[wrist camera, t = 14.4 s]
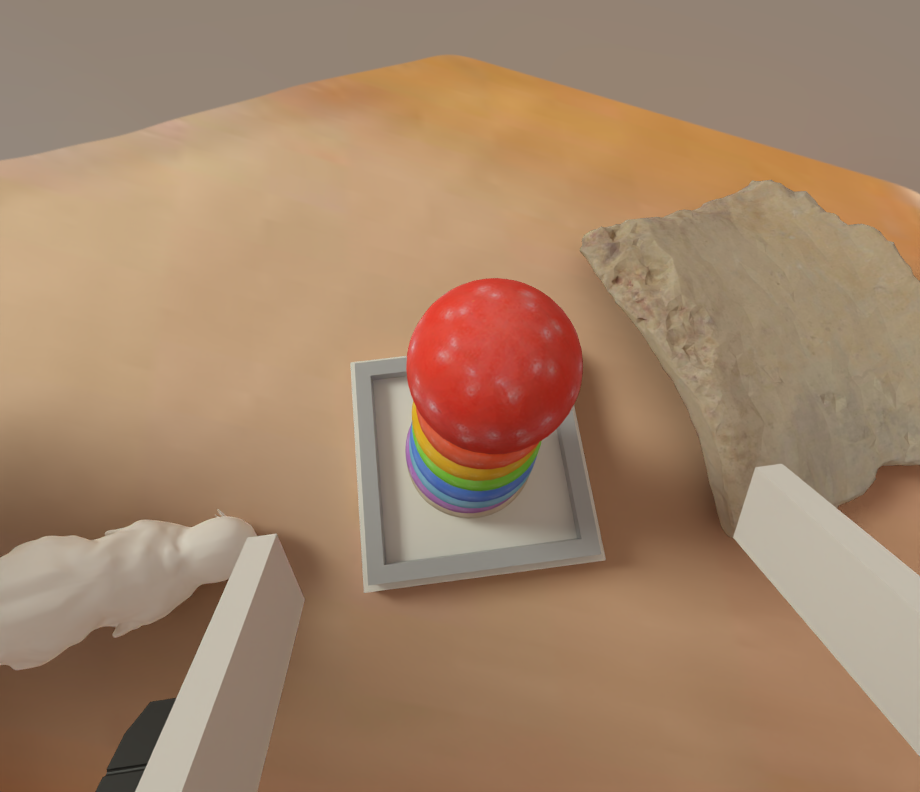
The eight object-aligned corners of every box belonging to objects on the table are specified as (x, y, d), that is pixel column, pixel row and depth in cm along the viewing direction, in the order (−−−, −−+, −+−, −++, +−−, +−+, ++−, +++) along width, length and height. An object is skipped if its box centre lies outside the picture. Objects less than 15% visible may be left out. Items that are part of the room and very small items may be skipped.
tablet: (768, 191, 37) (563, 246, 33) (853, 113, 30) (604, 172, 26) (930, 455, 32) (708, 555, 28) (1082, 437, 24) (810, 569, 21)
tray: (369, 588, 27) (360, 595, 25) (355, 369, 31) (346, 357, 29) (598, 557, 28) (611, 561, 25) (555, 346, 32) (563, 332, 29)
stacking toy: (515, 532, 27) (635, 563, 9) (393, 500, 27) (267, 468, 9) (539, 413, 29) (675, 240, 11) (426, 386, 29) (375, 177, 11)
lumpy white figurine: (-68, 552, 20) (205, 478, 22) (74, 545, 28) (263, 491, 30) (-73, 704, 18) (224, 607, 20) (80, 649, 26) (280, 584, 28)
